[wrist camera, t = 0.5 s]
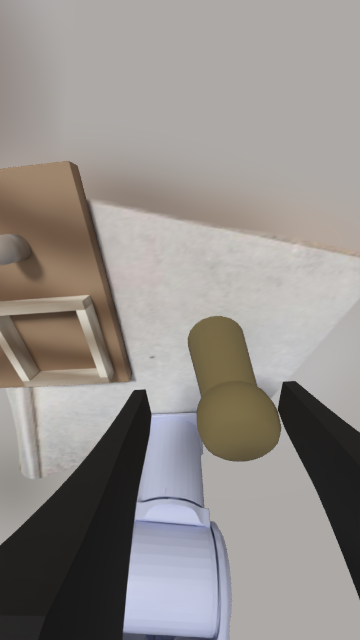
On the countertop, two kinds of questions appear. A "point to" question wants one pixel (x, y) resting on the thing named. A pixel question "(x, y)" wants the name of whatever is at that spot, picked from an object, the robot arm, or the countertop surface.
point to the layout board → (53, 284)
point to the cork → (230, 393)
